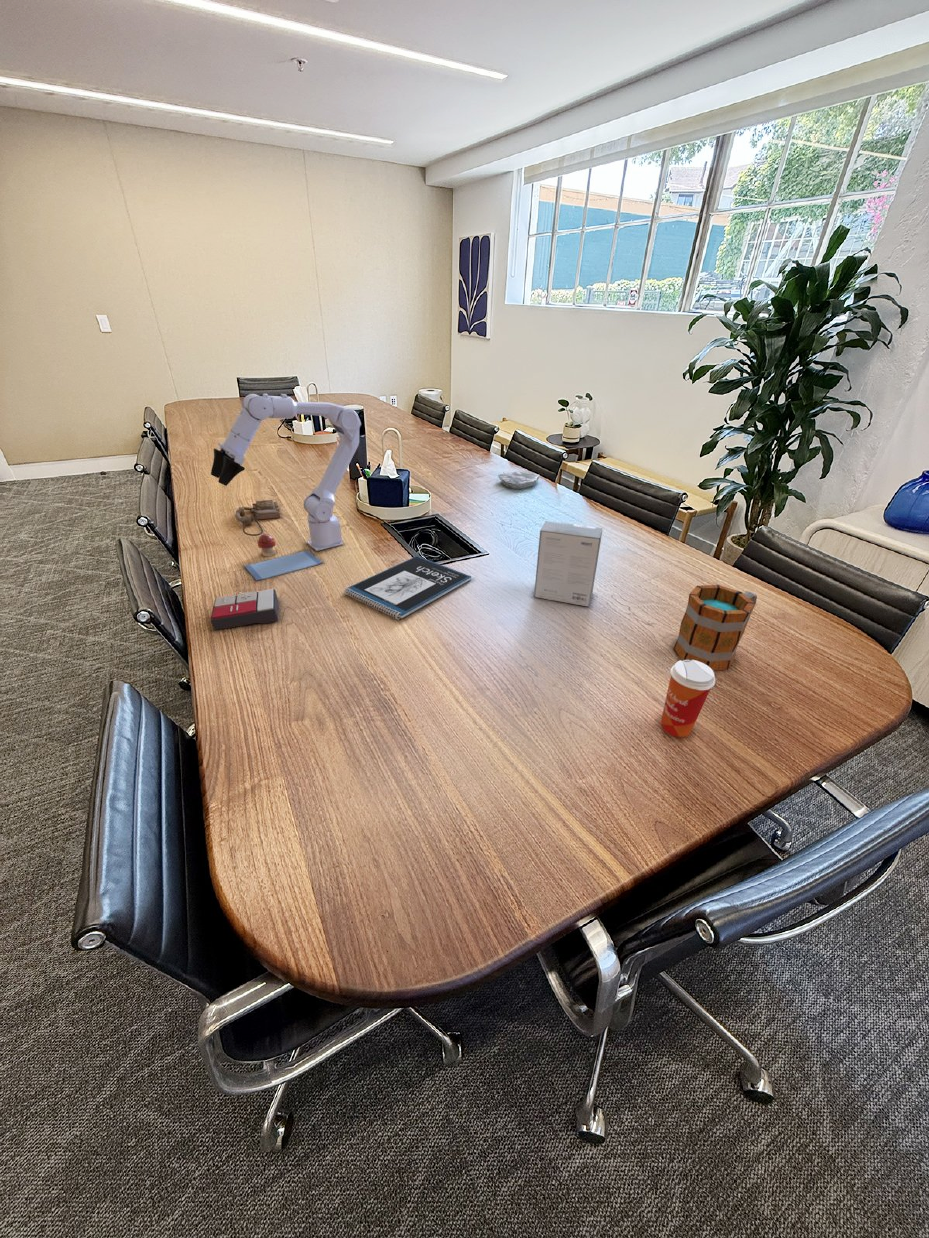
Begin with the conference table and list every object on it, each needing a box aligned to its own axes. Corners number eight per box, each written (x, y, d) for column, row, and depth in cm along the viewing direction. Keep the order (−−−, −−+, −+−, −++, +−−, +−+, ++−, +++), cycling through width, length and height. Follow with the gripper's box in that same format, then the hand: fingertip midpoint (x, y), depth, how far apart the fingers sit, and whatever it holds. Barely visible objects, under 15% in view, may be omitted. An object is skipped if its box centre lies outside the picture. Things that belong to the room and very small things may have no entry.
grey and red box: (213, 596, 131) (274, 586, 135) (218, 610, 133) (278, 600, 137) (209, 618, 122) (274, 606, 126) (214, 632, 125) (278, 621, 128)
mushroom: (273, 549, 165) (270, 529, 161) (279, 554, 161) (276, 535, 158) (257, 553, 162) (253, 533, 158) (263, 558, 158) (259, 539, 155)
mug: (707, 678, 113) (728, 620, 105) (660, 646, 122) (676, 592, 114) (763, 654, 121) (786, 599, 113) (715, 626, 131) (733, 574, 123)
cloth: (308, 551, 164) (308, 550, 164) (322, 563, 157) (322, 562, 156) (244, 567, 154) (244, 566, 153) (256, 581, 146) (256, 580, 146)
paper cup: (648, 714, 102) (665, 658, 95) (685, 712, 103) (704, 656, 96) (665, 743, 96) (683, 685, 88) (704, 741, 96) (726, 683, 89)
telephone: (239, 540, 169) (236, 528, 167) (235, 508, 195) (233, 497, 192) (286, 536, 174) (285, 524, 172) (276, 505, 200) (275, 494, 198)
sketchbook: (471, 580, 150) (471, 574, 148) (398, 622, 129) (398, 615, 128) (417, 559, 161) (417, 553, 160) (342, 594, 140) (342, 588, 139)
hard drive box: (592, 594, 143) (604, 528, 133) (589, 607, 137) (601, 538, 127) (538, 585, 148) (545, 519, 137) (532, 597, 141) (539, 529, 131)
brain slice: (512, 475, 239) (512, 468, 237) (544, 482, 231) (545, 475, 229) (489, 485, 225) (489, 478, 224) (522, 493, 217) (523, 486, 215)
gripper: (219, 422, 141) (197, 466, 143) (235, 434, 132) (211, 480, 134) (243, 436, 147) (221, 478, 148) (259, 448, 137) (236, 492, 139)
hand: (218, 480), depth 141 cm, fingers open, 7 cm apart
